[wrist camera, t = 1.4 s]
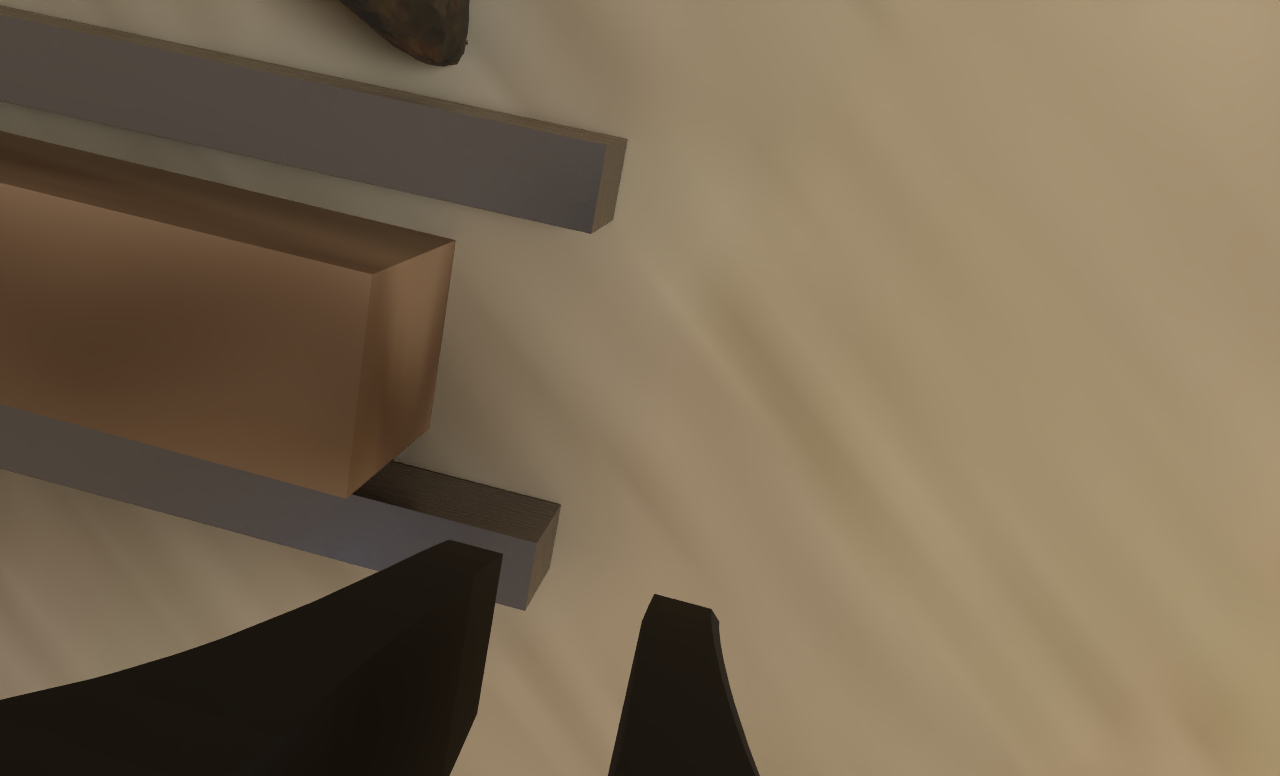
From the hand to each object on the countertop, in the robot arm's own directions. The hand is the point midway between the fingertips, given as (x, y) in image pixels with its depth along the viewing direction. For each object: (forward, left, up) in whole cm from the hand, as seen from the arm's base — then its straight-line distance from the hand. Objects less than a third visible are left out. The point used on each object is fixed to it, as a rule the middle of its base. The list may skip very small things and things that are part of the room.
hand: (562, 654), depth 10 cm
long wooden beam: (0, +11, -10) cm, 15 cm away
